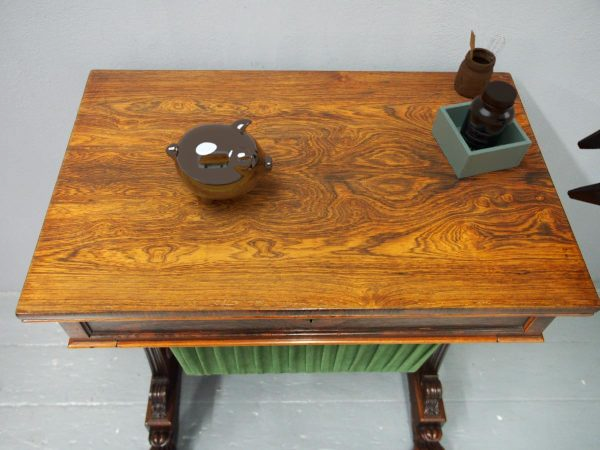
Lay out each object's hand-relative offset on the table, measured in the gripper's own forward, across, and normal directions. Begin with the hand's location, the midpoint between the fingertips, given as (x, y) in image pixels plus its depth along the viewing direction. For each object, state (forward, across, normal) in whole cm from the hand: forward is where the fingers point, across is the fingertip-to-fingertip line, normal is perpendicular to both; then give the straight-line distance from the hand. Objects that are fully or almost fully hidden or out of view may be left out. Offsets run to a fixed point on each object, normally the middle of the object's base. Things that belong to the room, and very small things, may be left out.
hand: (573, 169), depth 64 cm
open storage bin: (+18, -12, +1) cm, 22 cm away
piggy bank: (+41, +14, -22) cm, 49 cm away
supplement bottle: (+17, -12, +1) cm, 21 cm away
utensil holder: (+21, -27, -2) cm, 34 cm away
